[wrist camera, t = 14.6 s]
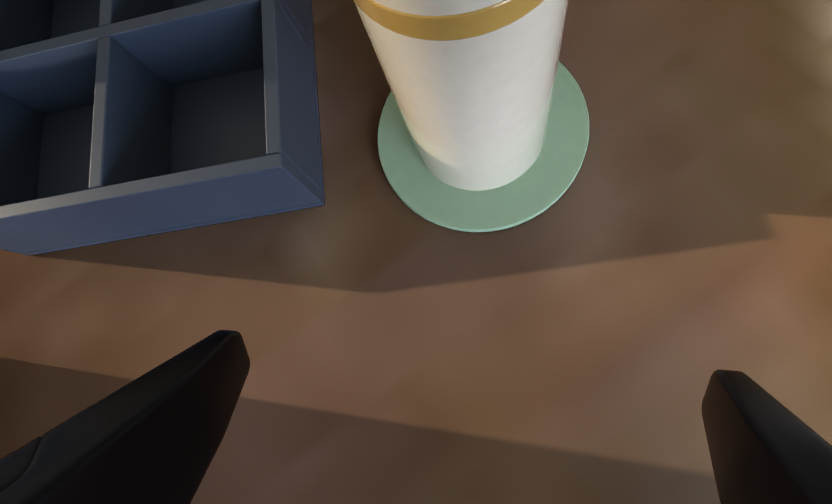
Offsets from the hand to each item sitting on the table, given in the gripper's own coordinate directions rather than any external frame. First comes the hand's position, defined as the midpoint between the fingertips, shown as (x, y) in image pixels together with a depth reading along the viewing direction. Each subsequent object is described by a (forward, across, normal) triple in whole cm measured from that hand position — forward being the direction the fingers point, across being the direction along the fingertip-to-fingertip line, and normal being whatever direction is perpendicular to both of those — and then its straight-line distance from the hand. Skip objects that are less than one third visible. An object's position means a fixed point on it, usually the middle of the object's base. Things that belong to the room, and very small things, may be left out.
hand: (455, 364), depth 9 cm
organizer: (+16, +16, -2) cm, 23 cm away
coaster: (+14, +1, 0) cm, 14 cm away
